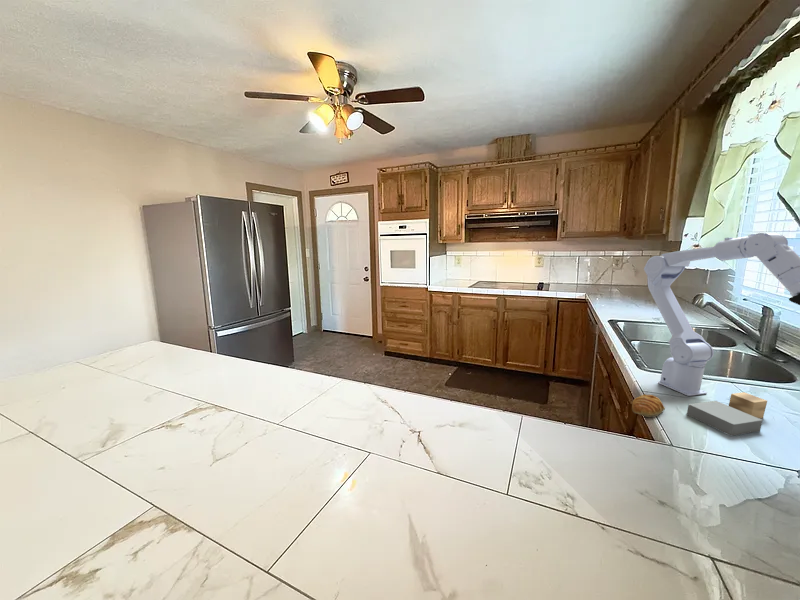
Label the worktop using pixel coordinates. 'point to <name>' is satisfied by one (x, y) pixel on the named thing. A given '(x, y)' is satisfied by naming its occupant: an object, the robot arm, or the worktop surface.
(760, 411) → the oak block
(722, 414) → the gray block
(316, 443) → the worktop surface
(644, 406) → the pastry
